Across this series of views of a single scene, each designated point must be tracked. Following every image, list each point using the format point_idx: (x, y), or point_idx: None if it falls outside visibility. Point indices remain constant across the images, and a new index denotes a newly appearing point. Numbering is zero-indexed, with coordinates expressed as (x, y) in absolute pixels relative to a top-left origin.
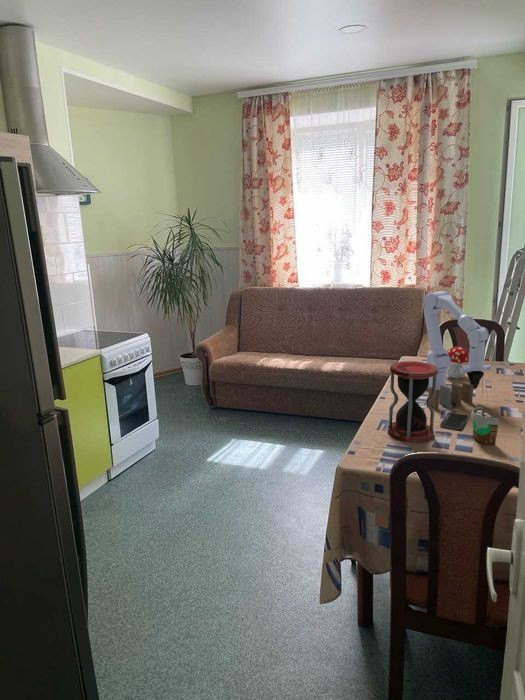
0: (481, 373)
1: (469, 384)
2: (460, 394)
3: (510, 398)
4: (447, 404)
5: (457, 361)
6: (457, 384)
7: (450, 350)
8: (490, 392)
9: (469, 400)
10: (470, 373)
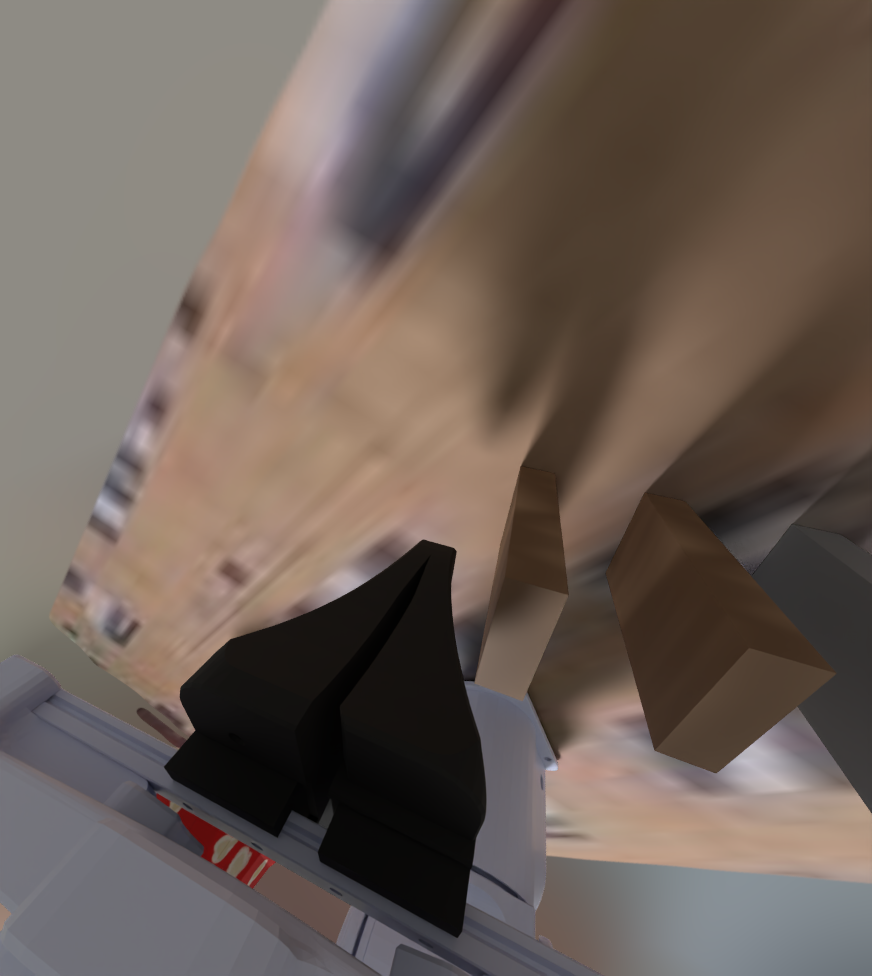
0: (263, 711)
1: (538, 619)
2: (710, 561)
3: (209, 384)
4: (847, 546)
5: None
6: (697, 719)
7: None
8: (265, 522)
9: (553, 484)
10: (471, 849)
